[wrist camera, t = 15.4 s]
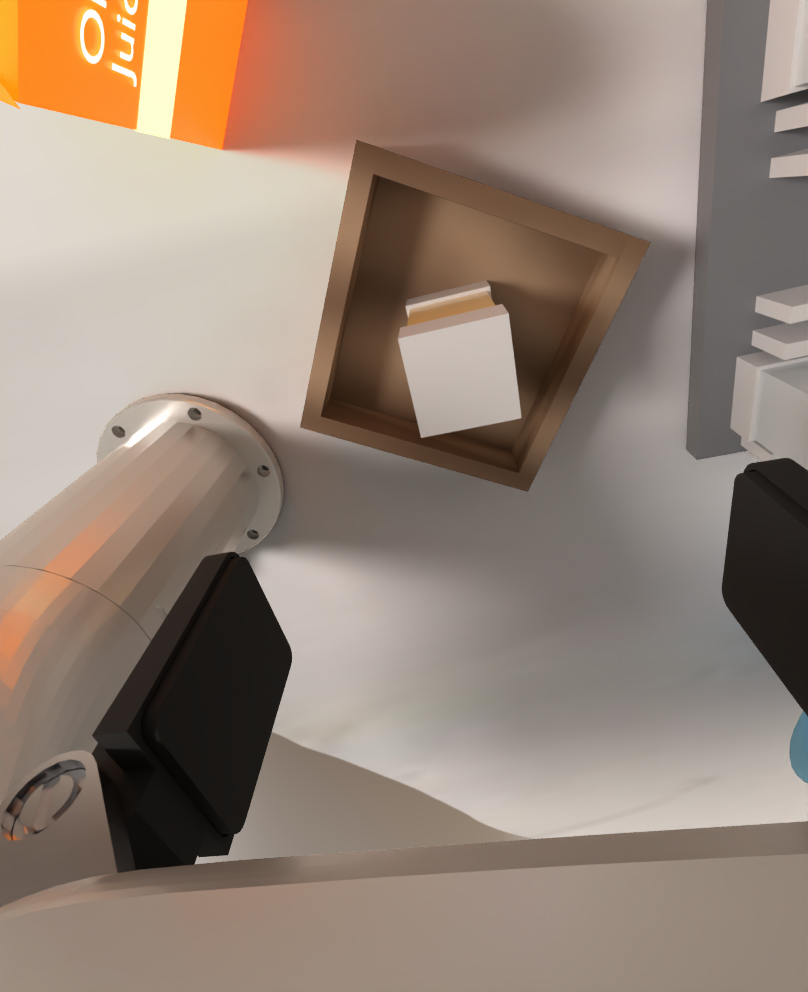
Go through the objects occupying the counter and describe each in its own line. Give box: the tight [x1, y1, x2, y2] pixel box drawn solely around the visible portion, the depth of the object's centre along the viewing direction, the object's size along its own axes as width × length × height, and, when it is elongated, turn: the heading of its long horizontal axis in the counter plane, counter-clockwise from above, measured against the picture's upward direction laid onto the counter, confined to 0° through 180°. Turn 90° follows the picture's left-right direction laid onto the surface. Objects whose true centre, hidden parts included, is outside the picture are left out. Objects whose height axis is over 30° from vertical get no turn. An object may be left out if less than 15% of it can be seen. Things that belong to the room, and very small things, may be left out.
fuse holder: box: [686, 0, 808, 461], centre depth 24 cm, size 24×8×4 cm, turn 14°
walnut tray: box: [300, 140, 651, 492], centre depth 27 cm, size 14×14×4 cm
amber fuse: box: [398, 280, 521, 438], centre depth 24 cm, size 4×4×9 cm
